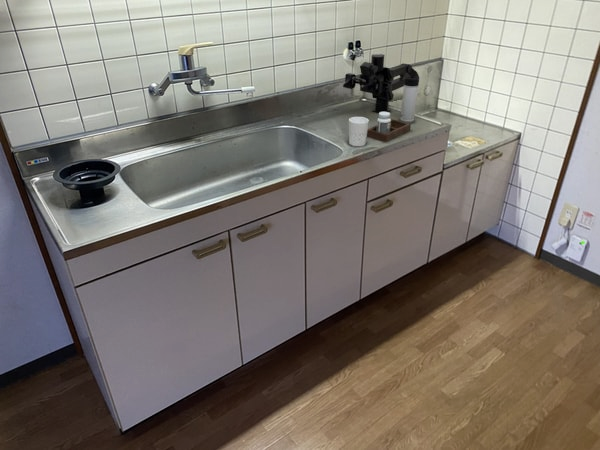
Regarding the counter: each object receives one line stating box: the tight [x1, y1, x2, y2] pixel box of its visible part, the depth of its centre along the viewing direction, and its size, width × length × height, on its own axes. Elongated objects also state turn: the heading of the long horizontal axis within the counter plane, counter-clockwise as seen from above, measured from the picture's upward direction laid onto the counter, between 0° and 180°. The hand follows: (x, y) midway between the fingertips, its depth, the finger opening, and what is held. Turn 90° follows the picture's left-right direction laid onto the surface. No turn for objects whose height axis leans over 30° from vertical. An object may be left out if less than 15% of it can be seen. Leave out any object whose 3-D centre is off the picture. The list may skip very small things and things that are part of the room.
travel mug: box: [399, 77, 420, 124], centre depth 207 cm, size 6×7×20 cm
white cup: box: [348, 116, 370, 147], centre depth 187 cm, size 8×8×10 cm
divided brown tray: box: [366, 118, 412, 143], centre depth 199 cm, size 19×10×3 cm, turn 136°
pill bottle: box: [376, 112, 392, 134], centre depth 194 cm, size 6×6×10 cm
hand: (351, 87), depth 200 cm, fingers open, 9 cm apart
